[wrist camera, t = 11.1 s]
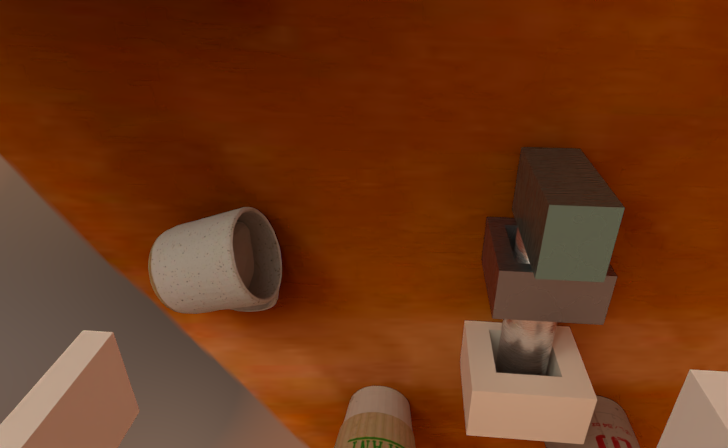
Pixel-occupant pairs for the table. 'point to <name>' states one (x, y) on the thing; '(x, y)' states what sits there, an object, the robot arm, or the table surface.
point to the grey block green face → (556, 241)
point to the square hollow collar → (536, 285)
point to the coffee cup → (377, 420)
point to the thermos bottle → (605, 429)
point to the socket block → (524, 390)
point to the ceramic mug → (218, 264)
